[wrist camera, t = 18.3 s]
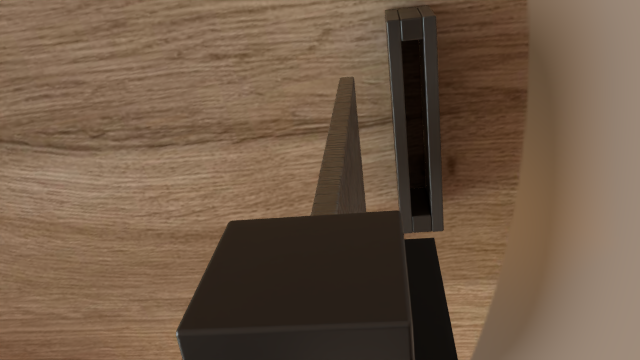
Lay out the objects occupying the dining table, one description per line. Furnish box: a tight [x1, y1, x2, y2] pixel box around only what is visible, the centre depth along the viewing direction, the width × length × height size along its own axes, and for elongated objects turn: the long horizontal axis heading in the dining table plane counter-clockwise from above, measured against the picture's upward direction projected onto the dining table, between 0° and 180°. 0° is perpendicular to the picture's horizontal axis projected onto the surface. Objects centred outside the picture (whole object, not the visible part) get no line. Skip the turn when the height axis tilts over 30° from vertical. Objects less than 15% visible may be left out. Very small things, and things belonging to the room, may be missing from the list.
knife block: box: [385, 6, 444, 233], centre depth 29 cm, size 11×2×4 cm, turn 7°
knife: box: [176, 77, 415, 360], centre depth 12 cm, size 9×2×11 cm, turn 7°
